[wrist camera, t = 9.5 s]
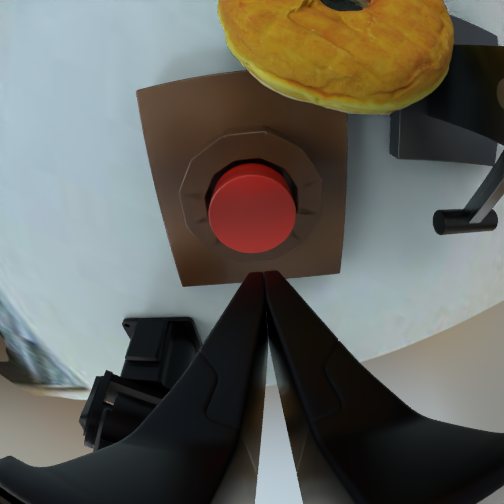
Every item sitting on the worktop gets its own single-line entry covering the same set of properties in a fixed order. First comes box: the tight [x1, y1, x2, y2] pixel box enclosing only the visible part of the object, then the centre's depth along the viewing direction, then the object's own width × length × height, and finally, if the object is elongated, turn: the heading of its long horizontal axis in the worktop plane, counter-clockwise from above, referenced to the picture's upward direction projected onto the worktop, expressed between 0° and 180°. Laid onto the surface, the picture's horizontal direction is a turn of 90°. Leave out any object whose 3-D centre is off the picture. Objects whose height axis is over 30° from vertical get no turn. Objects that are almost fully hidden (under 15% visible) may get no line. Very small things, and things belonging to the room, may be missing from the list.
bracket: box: [390, 15, 504, 166], centre depth 8 cm, size 10×9×10 cm
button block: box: [136, 70, 347, 287], centre depth 14 cm, size 12×10×4 cm
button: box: [208, 163, 296, 253], centre depth 12 cm, size 4×4×2 cm
